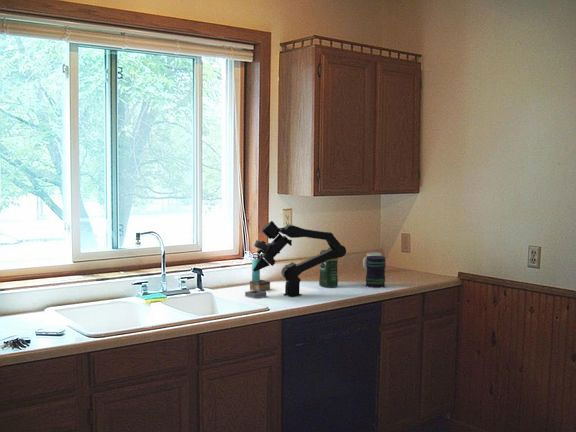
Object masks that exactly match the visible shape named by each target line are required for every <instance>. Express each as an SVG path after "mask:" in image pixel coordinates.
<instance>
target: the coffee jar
mask: <svg viewBox="0 0 576 432" xmlns="http://www.w3.org/2000/svg"><path fill="white" fill-rule="evenodd" d="M326 250H327V249H322V250H321V251H320V252H319V254H321V253H323V252H325V251H326ZM338 260H339V258H336V259H330V260H327V261H325V262H323V263H321V264H319V265H320V266H319V279H318V281H319V282H318V285H319V286H320V287H324V288H335V287H338V286H339V285H338V284H339V279H338Z"/></svg>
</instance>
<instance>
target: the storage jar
mask: <svg viewBox="0 0 576 432" xmlns="http://www.w3.org/2000/svg"><path fill="white" fill-rule="evenodd" d="M365 257H366V258H367V259H366V260H365V266H366V268H367V272H366V275H365V287H367V286H368V287H367V288H371V287H373V289H375V288H376V289H380V288H381V287H382V288H385V287H386V286H385V284H386V275H385V274H386V272H385V270H386V264H387V262H386V257H385V256H382V255H381V256H367V255H366V256H365ZM366 261H367V262H366ZM366 268H365V269H366ZM382 288H381V289H382Z"/></svg>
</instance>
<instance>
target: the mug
mask: <svg viewBox="0 0 576 432" xmlns="http://www.w3.org/2000/svg"><path fill="white" fill-rule="evenodd" d="M367 256H382V253H381V252H367V253H366V256H364V257H363V260H362V267H363V268H364V269H366V270H365V272H366V271H367V268H366V262H367V261H366V260H367V258H366V257H367Z"/></svg>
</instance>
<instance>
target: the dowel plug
mask: <svg viewBox="0 0 576 432" xmlns="http://www.w3.org/2000/svg"><path fill="white" fill-rule="evenodd" d="M259 261H260V259H257V258H252V259H251V281H254V282H258V281H260V280H261V269H260V270H257V271H255V272H254V271H253V269H254V268H255V266H256V265H257V264H258V262H259Z"/></svg>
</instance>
